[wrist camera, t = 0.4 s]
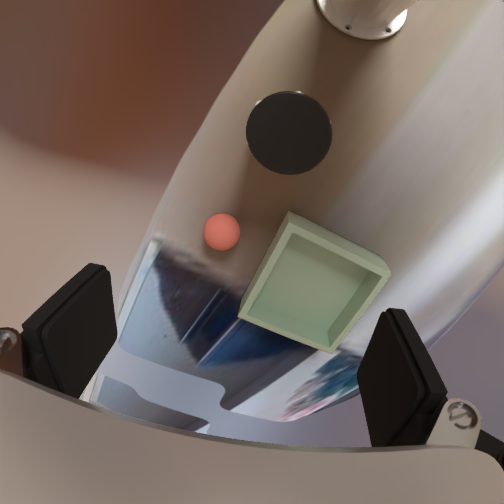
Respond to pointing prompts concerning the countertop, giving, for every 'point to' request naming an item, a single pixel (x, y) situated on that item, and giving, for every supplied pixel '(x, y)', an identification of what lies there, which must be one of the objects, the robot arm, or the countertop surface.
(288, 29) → the countertop surface
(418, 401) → the robot arm
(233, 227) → the tomato ball
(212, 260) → the countertop surface
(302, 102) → the jar
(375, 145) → the countertop surface
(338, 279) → the green bin
